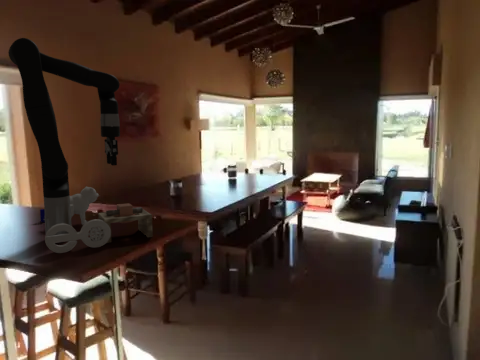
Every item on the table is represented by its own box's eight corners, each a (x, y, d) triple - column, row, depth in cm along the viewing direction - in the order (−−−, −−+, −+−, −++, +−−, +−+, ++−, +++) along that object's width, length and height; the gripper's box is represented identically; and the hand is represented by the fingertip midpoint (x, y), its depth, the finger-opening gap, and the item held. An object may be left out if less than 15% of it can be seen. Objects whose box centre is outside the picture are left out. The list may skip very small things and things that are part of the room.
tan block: (120, 223, 160) (119, 206, 160) (117, 220, 165) (116, 204, 164) (133, 221, 163) (132, 205, 162) (129, 219, 168) (129, 203, 167)
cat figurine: (47, 231, 172) (44, 192, 169) (41, 227, 180) (38, 189, 178) (105, 223, 187) (103, 187, 185) (97, 219, 195) (95, 184, 193)
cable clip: (51, 216, 202) (50, 204, 201) (59, 216, 202) (59, 204, 201) (37, 222, 190) (36, 209, 189) (47, 222, 190) (46, 209, 189)
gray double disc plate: (109, 243, 154) (108, 217, 153) (111, 245, 152) (110, 218, 151) (45, 253, 142) (44, 225, 141) (46, 255, 140) (44, 226, 139)
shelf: (106, 242, 154) (104, 214, 153) (99, 234, 167) (98, 208, 165) (152, 236, 163) (151, 209, 162) (143, 229, 175) (142, 204, 174)
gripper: (97, 125, 172) (99, 163, 174) (103, 125, 160) (105, 166, 162) (115, 125, 176) (117, 162, 178) (123, 125, 163) (125, 165, 166)
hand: (111, 164), depth 170 cm, fingers open, 8 cm apart
